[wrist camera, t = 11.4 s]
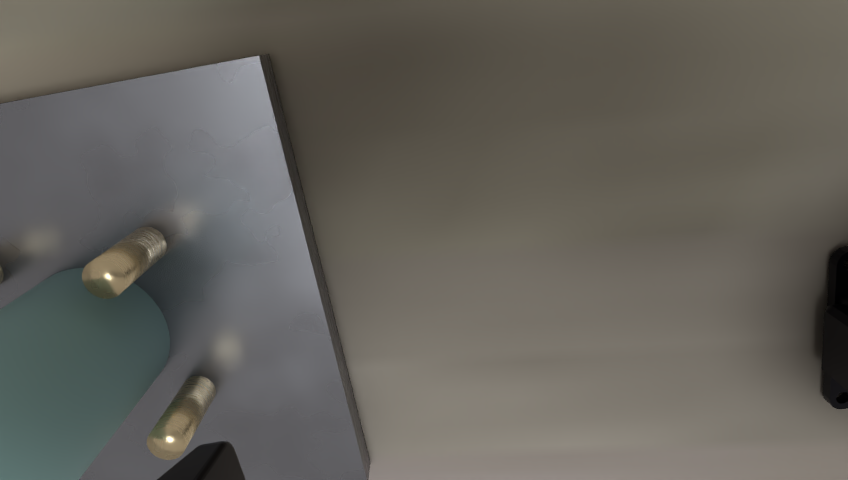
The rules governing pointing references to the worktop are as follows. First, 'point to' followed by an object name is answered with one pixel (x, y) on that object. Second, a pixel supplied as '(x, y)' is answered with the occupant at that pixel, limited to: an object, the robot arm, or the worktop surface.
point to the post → (72, 373)
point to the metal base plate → (189, 263)
